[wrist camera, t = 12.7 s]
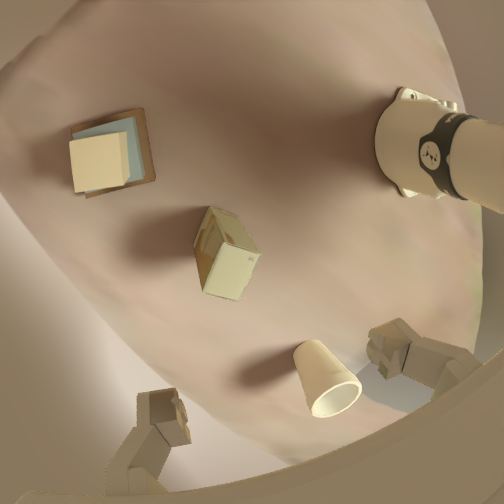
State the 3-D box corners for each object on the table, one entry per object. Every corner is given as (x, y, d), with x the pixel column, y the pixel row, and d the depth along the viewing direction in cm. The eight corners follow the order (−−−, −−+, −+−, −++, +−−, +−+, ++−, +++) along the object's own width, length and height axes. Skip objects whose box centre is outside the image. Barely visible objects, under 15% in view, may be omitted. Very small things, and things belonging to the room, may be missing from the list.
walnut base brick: (144, 109, 33) (141, 107, 30) (156, 176, 37) (154, 180, 34) (77, 127, 31) (70, 128, 29) (91, 193, 35) (86, 198, 33)
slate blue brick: (135, 117, 31) (131, 116, 28) (145, 174, 34) (143, 178, 31) (79, 132, 29) (72, 133, 27) (91, 188, 32) (85, 193, 30)
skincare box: (208, 204, 40) (224, 238, 29) (238, 215, 41) (264, 251, 31) (191, 247, 42) (200, 294, 31) (220, 256, 43) (238, 303, 32)
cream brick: (126, 131, 28) (118, 132, 24) (130, 176, 30) (123, 185, 26) (83, 138, 27) (69, 141, 23) (87, 182, 29) (75, 192, 25)
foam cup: (337, 336, 57) (371, 381, 45) (315, 370, 59) (343, 415, 48) (298, 330, 53) (330, 381, 42) (277, 367, 56) (301, 418, 44)
